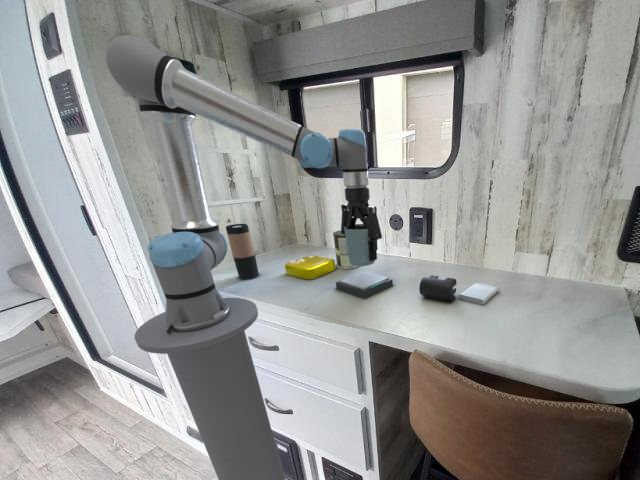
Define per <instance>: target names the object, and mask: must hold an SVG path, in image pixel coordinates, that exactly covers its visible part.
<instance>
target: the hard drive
mask: <svg viewBox="0 0 640 480" xmlns="http://www.w3.org/2000/svg"><path fill="white" fill-rule="evenodd" d="M498 292H499V287H498V286H494V285H489V284H485V283H481V282H480V283H479V282H475V283H473V284H472V285H471V286H469V287H468V288H467V289H465V290H464V291H462V292H461V293H459V294H458V299H460V300H462V301H466V302H470V303H475V304H478V305H485V304H486V303H487V302H488V301H489V300H490V299H491V298H492V297H493V296H494V295H495V294H497V293H498Z"/></svg>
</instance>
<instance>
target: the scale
mask: <svg viewBox="0 0 640 480" xmlns="http://www.w3.org/2000/svg"><path fill="white" fill-rule="evenodd" d="M393 286H394V279H393V278H391V277H387V276H383V275H381V274H376V273H372V272H368V271H362V272H359V273H356V274H354V275H350V276H348V277H345V278H343V279H340V280H339V281H336V282H335V289H336V290H337V291H341V292H343V293H347V294H349V295H352V296H355V297H359V298H361V299H364V300H365V299H368V298H369V297H371V296H374V295H375V294H378V293H380V292H382V291H384V290H387V289H389V288H392V287H393Z"/></svg>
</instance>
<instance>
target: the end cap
mask: <svg viewBox="0 0 640 480" xmlns="http://www.w3.org/2000/svg"><path fill="white" fill-rule="evenodd" d="M457 284H458V283H457V279H456V278H453V277H446V278H445V279H440V278H439V275H433V274H431V275H429V276H428V277H427V276H423V277H422V278H421V280H420V283H419V287H418V288H419V289H418V290H419V294H420V295H421V296H422V297H423V298H428V299H433V300H437V301H444V302H449V303H451V302H452V301H453V300H454V299H455V298H456V292H457V287H455V286H456V285H457Z"/></svg>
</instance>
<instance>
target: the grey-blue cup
mask: <svg viewBox="0 0 640 480" xmlns="http://www.w3.org/2000/svg"><path fill="white" fill-rule="evenodd" d="M371 229H372V228H371ZM344 230H345V235H346V241H347V248H348V252H349V253H348V254H349V262H350V264H351V265H353V266H358V267H367V266H371V265H373V264H375V262H376V260H374V261H370V259H369V245H368V241H369V240H370V239H369V236H368V229H365V227H364V225H363V223H355V227H354V229H348V226H345V227H344Z"/></svg>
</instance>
